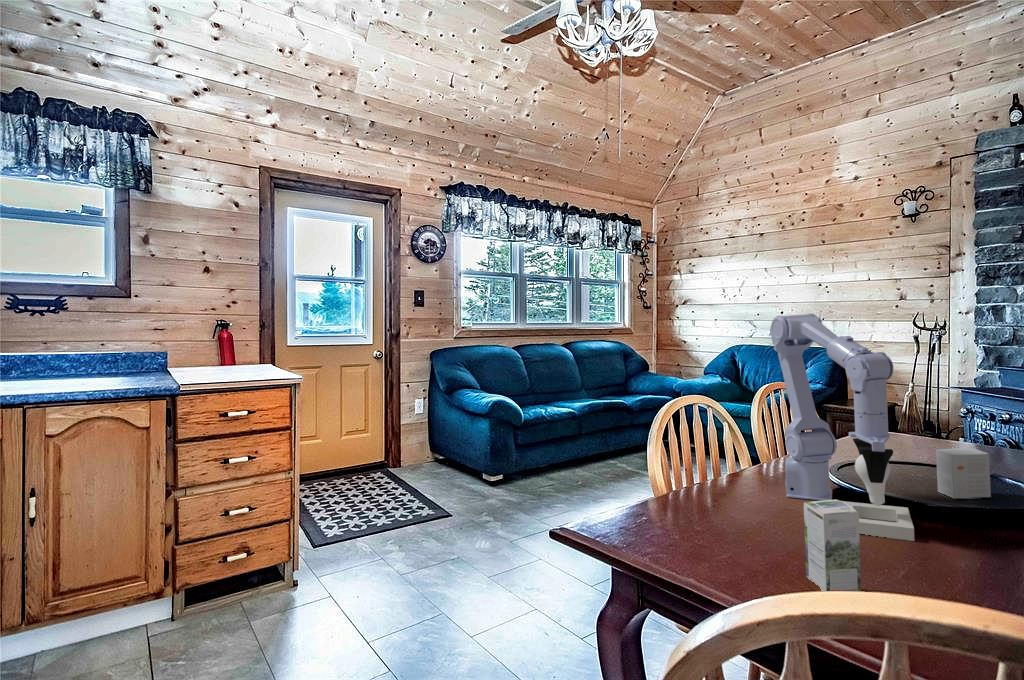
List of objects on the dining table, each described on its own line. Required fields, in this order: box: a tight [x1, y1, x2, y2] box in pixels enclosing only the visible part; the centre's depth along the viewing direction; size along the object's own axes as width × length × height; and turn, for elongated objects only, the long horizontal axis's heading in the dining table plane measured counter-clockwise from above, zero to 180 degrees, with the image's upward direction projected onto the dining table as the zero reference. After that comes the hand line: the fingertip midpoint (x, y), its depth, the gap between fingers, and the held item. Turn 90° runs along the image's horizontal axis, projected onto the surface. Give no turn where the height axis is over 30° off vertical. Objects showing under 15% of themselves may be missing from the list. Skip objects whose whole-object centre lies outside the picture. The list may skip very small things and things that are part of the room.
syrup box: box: [803, 499, 862, 592], centre depth 89 cm, size 6×6×14 cm
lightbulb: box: [854, 454, 891, 506], centre depth 113 cm, size 6×6×11 cm
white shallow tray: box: [841, 500, 915, 542], centre depth 113 cm, size 12×12×2 cm
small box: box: [935, 447, 992, 498], centre depth 126 cm, size 8×6×10 cm
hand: (873, 477), depth 113 cm, fingers closed on lightbulb, 6 cm apart
